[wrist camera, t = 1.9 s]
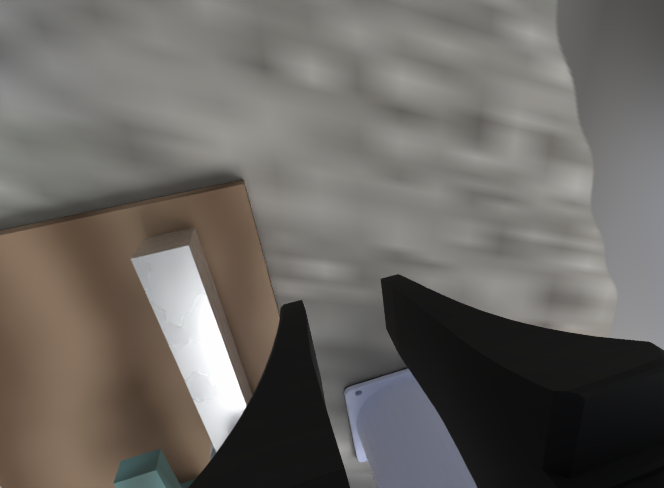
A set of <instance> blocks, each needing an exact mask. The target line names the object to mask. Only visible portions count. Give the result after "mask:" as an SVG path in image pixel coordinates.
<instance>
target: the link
mask: <svg viewBox="0 0 664 488" xmlns="http://www.w3.org/2000/svg"><path fill="white" fill-rule="evenodd" d="M131 261H132V263H133V265H134V268H135V270H136V272H137V275H138V277H139V279H140V281H141V284H142V286H143V288H144V290H145V293H146V295H147V297H148V299H149V302H150V304H151V306H152V308H153V311H154V313H155V315H156V317H157V320H158V322H159V324H160V326H161V329H162V331H163V333H164V335H165V338H166V340H167V342H168V344H169V347H170V349H171V351H172V353H173V356H174V358H175V360H176V362H177V365H178V367H179V369H180V372H181V374H182V376H183V378H184V381H185V383H186V385H187V387H188V390H189V392H190V394H191V396H192V399H193V401H194V403H195V405H196V408H197V410H198V412H199V414H200V417H201V419H202V421H203V423H204V426H205V428H206V430H207V432H208V435H209V437H210V439H211V449H210V461H211V459H212V458H213V457H214V455H215V454H216V452H217V451H218V449H219V448H220V447H221V445H222V444H223V442H224V441H225V439H226V438H227V437H228V435H229V434H230V432H231V431H232V429H233V428H234V426H235V425H236V423H237V421H238V420H239V418H240V417H241V415H242V413H243V411H244V410H245V408H246V406H247V404H248V402H249V401H250V399H251V397H252V392H251V389H250V386H249V383H248V380H247V377H246V374H245V371H244V368H243V366H242V363H241V360H240V357H239V354H238V351H237V348H236V345H235V342H234V339H233V336H232V333H231V331H230V328H229V325H228V322H227V319H226V316H225V313H224V310H223V307H222V304H221V301H220V299H219V296H218V293H217V290H216V287H215V284H214V281H213V278H212V275H211V272H210V269H209V266H208V264H207V261H206V258H205V255H204V252H203V249H202V246H201V243H200V240H199V237H198V234H197V231H196V229H195V227H192V228H188V229H183V230H179V231H174V232H170V233H165V234H161V235H156V236H152V237H147V238H144V239H143V241H142V242H141V244H140V245H139V247H138V248H137V250H136V251H135V253H134V254H133V256H132V258H131Z"/></svg>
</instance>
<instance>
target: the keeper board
mask: <svg viewBox="0 0 664 488" xmlns="http://www.w3.org/2000/svg"><path fill="white" fill-rule="evenodd" d="M192 227H195V229H196V231H197V234H198V237H199V240H200V243H201V246H202V249H203V252H204V255H205V258H206V261H207V264H208V266H209V269H210V272H211V275H212V278H213V281H214V284H215V287H216V290H217V293H218V296H219V299H220V301H221V304H222V307H223V310H224V313H225V316H226V319H227V322H228V325H229V328H230V331H231V333H232V336H233V339H234V342H235V345H236V348H237V351H238V354H239V357H240V360H241V363H242V366H243V368H244V371H245V374H246V377H247V380H248V383H249V386H250V389H251V392H252V395H253V393H254V391H255V389H256V387H257V385H258V383H259V381H260V379H261V376H262V374H263V372H264V369H265V367H266V364H267V361H268V359H269V356H270V353H271V350H272V347H273V344H274V341H275V337H276V334H277V330H278V325H279V320H280V315H279V311H278V308H277V304H276V300H275V296H274V292H273V289H272V285H271V281H270V277H269V274H268V270H267V266H266V262H265V259H264V255H263V251H262V247H261V243H260V240H259V236H258V232H257V228H256V225H255V221H254V217H253V213H252V209H251V206H250V202H249V198H248V194H247V191H246V187H245V183H244V180H240V181H235V182H230V183H225V184H220V185H216V186H211V187H206V188H201V189H196V190H192V191H187V192H182V193H177V194H173V195H168V196H163V197H158V198H153V199H149V200H144V201H139V202H134V203H129V204H125V205H120V206H115V207H110V208H105V209H101V210H96V211H91V212H86V213H81V214H77V215H72V216H67V217H62V218H57V219H53V220H48V221H43V222H38V223H34V224H29V225H24V226H19V227H14V228H10V229H5V230H0V486H1V487H2V488H188V487H189V486H190V485H191V484H192V483H193V481H194V480H195V479H196V478H197V477H198V475H199V474H200V473H201V472H202V471H203V469H204V468H205V467H206V466H207V465H208V463H209V462H210V449H211V439H210V437H209V435H208V432H207V430H206V428H205V426H204V423H203V421H202V419H201V417H200V414H199V412H198V410H197V408H196V405H195V403H194V401H193V399H192V396H191V394H190V392H189V390H188V387H187V385H186V383H185V381H184V378H183V376H182V374H181V372H180V369H179V367H178V365H177V362H176V360H175V358H174V356H173V353H172V351H171V349H170V347H169V344H168V342H167V340H166V338H165V335H164V333H163V331H162V329H161V326H160V324H159V322H158V320H157V317H156V315H155V313H154V311H153V308H152V306H151V304H150V302H149V299H148V297H147V295H146V293H145V290H144V288H143V286H142V284H141V281H140V279H139V277H138V275H137V272H136V270H135V268H134V265H133V263H132V261H131V258H132V256H133V254H134V253H135V251H136V250H137V248H138V247H139V245H140V244H141V242H142V241H143V239H144V238H147V237H152V236H156V235H161V234H165V233H170V232H174V231H179V230H183V229H188V228H192Z"/></svg>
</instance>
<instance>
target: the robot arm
mask: <svg viewBox="0 0 664 488" xmlns="http://www.w3.org/2000/svg"><path fill="white" fill-rule="evenodd" d="M381 285H382V294H383V303H384V312H385V321H386V329H387V331H388V333H389V335H390V337H391V339H392V341H393V343H394V345H395V347H396V349H397V351H398V353H399V355H400V356H401V358H402V360H403V361H404V363H405V364H406V366H407V367H408V369H405V370H401V371H398V372H395V373H392V374H388V375H385V376H382V377H379V378H376V379H372V380H369V381H366V382H363V383H359V384H356V385H353V386H350V387H348V388H346V389H345V391H344V396H345V401H346V406H347V411H348V417H349V422H350V427H351V432H352V437H353V442H354V447H355V453H356V457H357V460H358V462H366V461H368V463H369V465H370V468H371V471H372V474H373V477H374V480H375V483H376V486H377V488H664V350H662V349H661V348H659V347H657V346H656V345H654V344H653V343H651V342H645V341H635V340H625V339H613V338H604V337H595V336H589V335H582V334H576V333H569V332H563V331H558V330H553V329H547V328H543V327H538V326H534V325H530V324H525V323H521V322H517V321H514V320H510V319H506V318H503V317H500V316H497V315H493V314H490V313H487V312H484V311H481V310H478V309H476V308H473V307H470V306H468V305H465V304H463V303H460V302H458V301H455V300H453V299H450V298H448V297H446V296H444V295H441V294H439V293H437V292H435V291H433V290H431V289H428V288H426V287H424V286H422V285H420V284H418V283H416V282H414V281H412V280H410V279H408V278H406V277H403V276H401V275H399V274H397V275H393V276H390V277H386V278H382V279H381ZM358 390H359V391H358ZM356 391H358V392H356ZM188 488H350V486H349V482H348V479H347V475H346V472H345V468H344V465H343V462H342V459H341V455H340V452H339V449H338V446H337V442H336V439H335V436H334V433H333V430H332V426H331V423H330V420H329V416H328V413H327V410H326V406H325V400H324V394H323V388H322V382H321V376H320V372H319V368H318V363H317V359H316V354H315V350H314V345H313V341H312V337H311V332H310V328H309V323H308V319H307V315H306V310H305V307H304V304H303V302H302V300H299V301H296V302H292V303H288V304H284V305H283V306H282V307H281V309H280V320H279V325H278V330H277V334H276V337H275V341H274V344H273V347H272V350H271V353H270V356H269V359H268V361H267V364H266V367H265V369H264V372H263V374H262V376H261V379H260V381H259V383H258V385H257V387H256V389H255V391H254V393H253V395H252V397H251V399H250V401H249V402H248V404H247V406H246V408H245V410H244V411H243V413H242V415H241V417H240V418H239V420H238V421H237V423H236V425H235V426H234V428H233V429H232V431H231V432H230V434H229V435H228V437H227V438H226V439H225V441H224V442H223V444H222V445H221V447H220V448H219V449H218V451H217V452H216V454H215V455H214V457H213V458H212V459H211V461H210V462H209V463H208V465H207V466H206V467H205V468H204V469H203V471H202V472H201V473H200V474H199V475H198V477H197V478H196V479H195V480H194V481H193V483H192V484H191V485H190V486H189V487H188Z"/></svg>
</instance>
